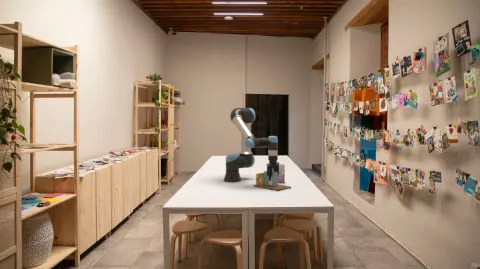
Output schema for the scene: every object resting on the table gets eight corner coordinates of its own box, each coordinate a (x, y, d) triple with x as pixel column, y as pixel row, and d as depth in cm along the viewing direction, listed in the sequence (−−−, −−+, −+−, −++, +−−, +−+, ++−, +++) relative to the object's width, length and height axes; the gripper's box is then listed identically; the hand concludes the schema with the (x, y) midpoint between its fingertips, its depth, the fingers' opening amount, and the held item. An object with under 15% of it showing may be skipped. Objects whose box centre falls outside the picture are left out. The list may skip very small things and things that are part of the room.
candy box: (284, 182, 312) (284, 163, 311) (284, 183, 306) (284, 164, 305) (268, 181, 313) (268, 163, 313) (268, 183, 308) (268, 164, 307)
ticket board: (253, 186, 294) (253, 173, 293) (266, 183, 305) (266, 171, 304) (278, 191, 275) (278, 177, 275) (291, 188, 287) (291, 175, 286)
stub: (264, 184, 293) (264, 171, 292) (268, 183, 296) (268, 170, 296) (273, 186, 286) (273, 172, 285) (277, 185, 289) (277, 171, 288)
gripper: (269, 156, 279) (269, 186, 280) (283, 154, 292) (283, 183, 293) (262, 155, 284) (262, 185, 285) (276, 154, 297) (276, 182, 298)
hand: (272, 184), depth 289 cm, fingers closed on stub, 5 cm apart
